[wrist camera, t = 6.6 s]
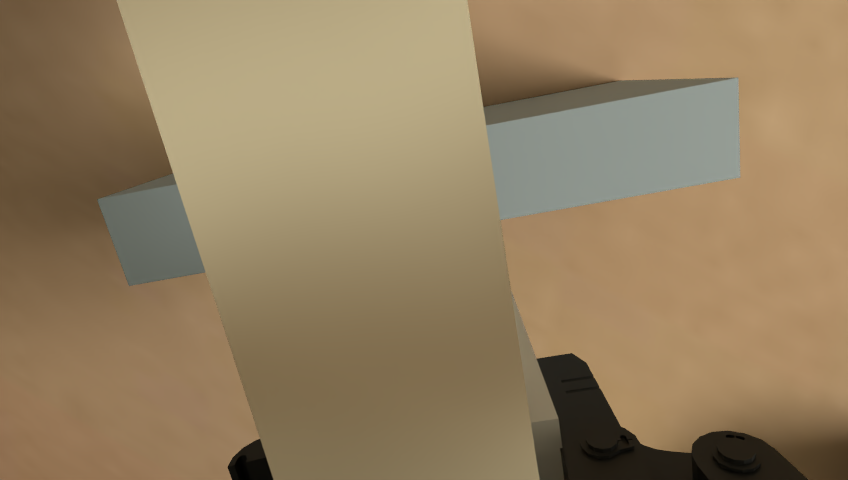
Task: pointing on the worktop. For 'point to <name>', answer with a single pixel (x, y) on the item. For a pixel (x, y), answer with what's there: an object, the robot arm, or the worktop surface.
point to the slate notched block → (513, 162)
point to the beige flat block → (346, 228)
